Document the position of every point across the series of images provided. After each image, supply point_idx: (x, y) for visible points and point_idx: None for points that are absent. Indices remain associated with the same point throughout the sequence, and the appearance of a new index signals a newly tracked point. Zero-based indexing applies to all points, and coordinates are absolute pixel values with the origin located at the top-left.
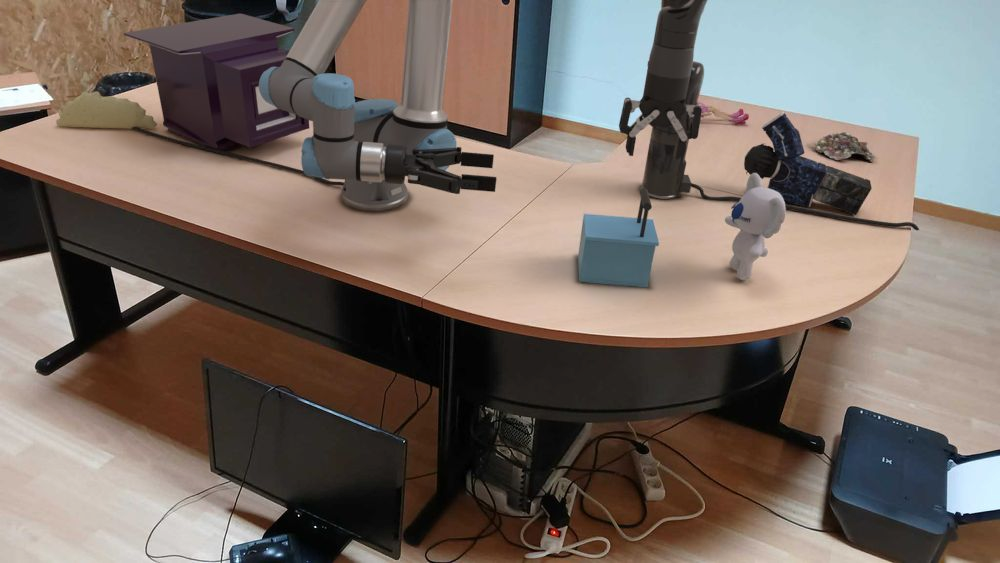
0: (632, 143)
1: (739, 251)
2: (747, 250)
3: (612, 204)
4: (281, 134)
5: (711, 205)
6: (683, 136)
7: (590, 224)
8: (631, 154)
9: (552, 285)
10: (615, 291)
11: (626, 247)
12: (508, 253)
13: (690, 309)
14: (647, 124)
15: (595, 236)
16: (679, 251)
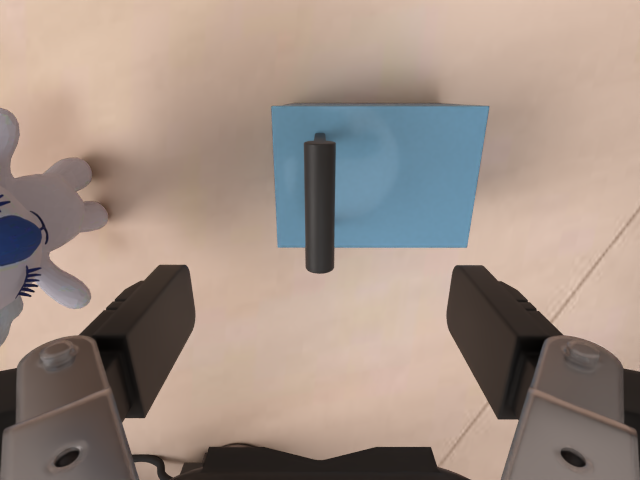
0: (514, 306)
1: (61, 184)
2: (35, 176)
3: (333, 414)
4: None
5: (145, 437)
6: (55, 367)
7: (460, 187)
8: (470, 267)
9: (503, 78)
10: (364, 74)
11: (361, 105)
12: (575, 201)
13: (199, 19)
14: (523, 443)
15: (459, 112)
16: (213, 265)
